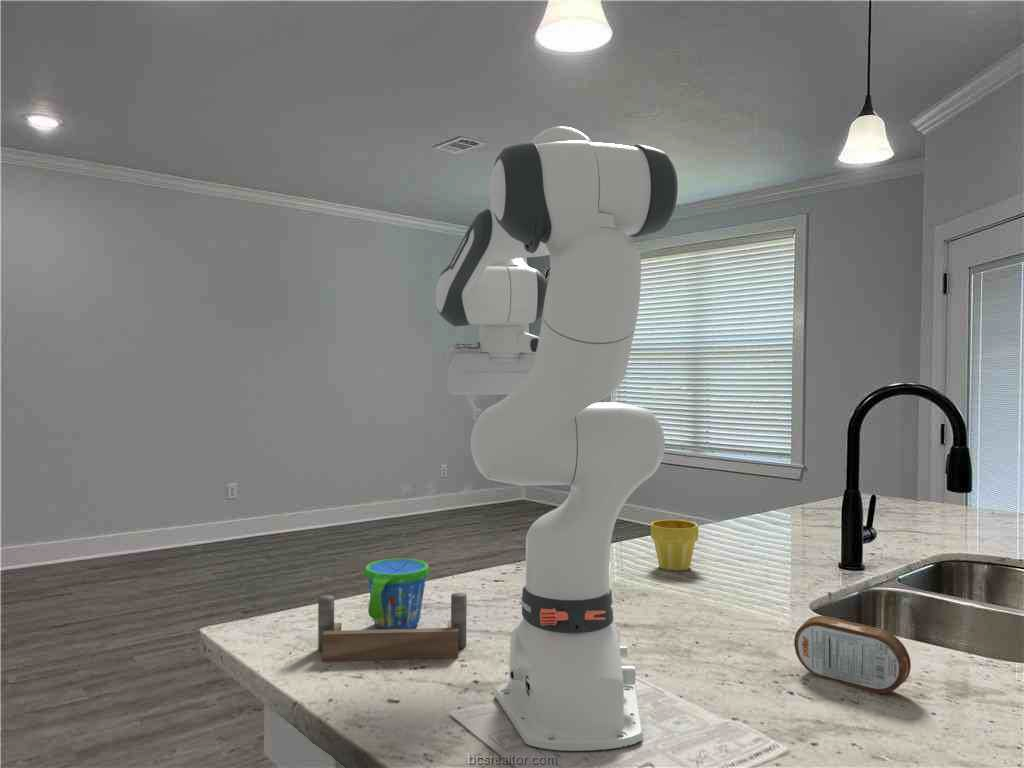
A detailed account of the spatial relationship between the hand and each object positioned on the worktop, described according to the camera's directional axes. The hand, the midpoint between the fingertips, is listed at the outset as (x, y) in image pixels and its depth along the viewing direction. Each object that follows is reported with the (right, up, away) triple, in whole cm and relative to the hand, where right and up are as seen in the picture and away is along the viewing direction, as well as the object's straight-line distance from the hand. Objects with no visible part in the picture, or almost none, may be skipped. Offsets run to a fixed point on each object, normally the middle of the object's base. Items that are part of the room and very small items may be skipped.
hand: (503, 419), depth 137 cm
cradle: (-17, -35, -19) cm, 43 cm away
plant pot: (+37, -35, +32) cm, 60 cm away
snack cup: (-18, -35, -8) cm, 40 cm away
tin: (+48, -36, -31) cm, 68 cm away
